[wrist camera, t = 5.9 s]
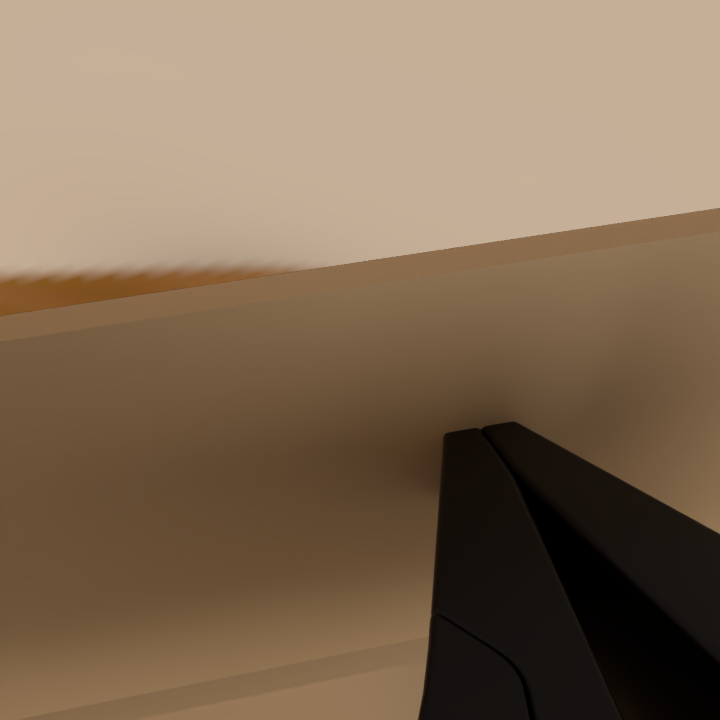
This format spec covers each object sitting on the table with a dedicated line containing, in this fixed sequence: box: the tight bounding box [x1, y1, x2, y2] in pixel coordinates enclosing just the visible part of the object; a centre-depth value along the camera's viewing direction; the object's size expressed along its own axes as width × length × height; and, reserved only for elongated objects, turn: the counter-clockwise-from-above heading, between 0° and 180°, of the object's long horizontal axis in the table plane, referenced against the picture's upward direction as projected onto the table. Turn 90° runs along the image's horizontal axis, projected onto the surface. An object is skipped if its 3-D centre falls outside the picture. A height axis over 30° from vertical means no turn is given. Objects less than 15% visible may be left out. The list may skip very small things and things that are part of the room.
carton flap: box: [0, 208, 720, 720], centre depth 9 cm, size 1×18×7 cm
